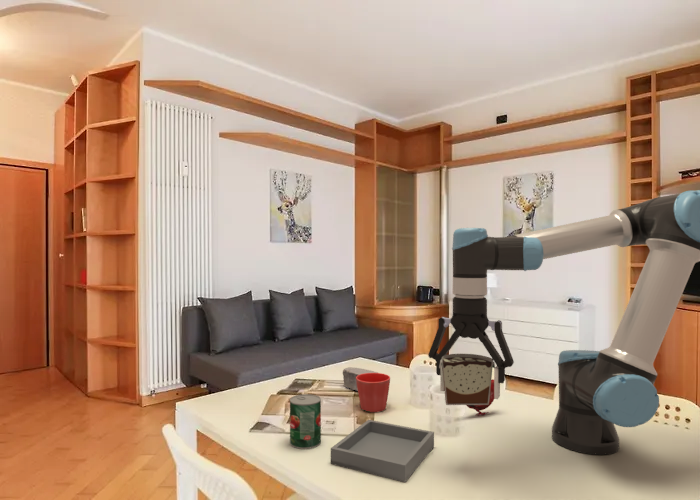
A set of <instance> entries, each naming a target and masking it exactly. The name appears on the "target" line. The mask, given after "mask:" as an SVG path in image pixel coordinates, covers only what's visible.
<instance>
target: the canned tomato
mask: <svg viewBox="0 0 700 500" xmlns="http://www.w3.org/2000/svg"><path fill="white" fill-rule="evenodd" d="M321 400H322V398H321V397H320V396H319V395H316V394H310V393H309V394H307V393H304V394H297V395H294V396H292V397H290V398H289V445H290V446H291V447H292V448H295V449H297V450H310V449H311V450H312V449H315V448H317V447H319V446H321V444H322V427H321V426H322V415H321V414H322V411H321V410H322V407H321V406H322V404H321V403H322V401H321Z"/></svg>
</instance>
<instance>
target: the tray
mask: <svg viewBox="0 0 700 500" xmlns="http://www.w3.org/2000/svg"><path fill="white" fill-rule="evenodd" d="M434 447H435V432H434V431H429V430H425V429H421V428H420V429H419V428H415V427H410V426H409V427H408V426H403V425H398V424H394V423H388V422H383V421H378V420H377V421H376V420H374V419H373V420H372V419H368V420H365V422H363V423H362V424H361V425H359V426H358V427H356V428H355V429H354V430H353V431H351V432H350V433H349V434H348V435H346V436H345V437H343V438H342V439H341V440H339V441H338V442H337V443H336V444H334V445H333V446H332V447H330V464H331V465H335V466H338V467H342V468H346V469H351V470H354V471H358V472H362V473H367V474H370V475H374V476H379V477H382V478H386V479H391V480H395V481H398V482H399V481H400V482H403V483H406V482H407V481H408V479H409V478H410V477H411V476H412V474H413V473H414V472H415V471H416V470H417V468H418V467H419V466H420V465H421V464H422V462H423V461H424V460H425V458H426V457H427V456H428V454H429V453H430V452H431V451H432V449H433V448H434Z"/></svg>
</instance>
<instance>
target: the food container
mask: <svg viewBox="0 0 700 500" xmlns="http://www.w3.org/2000/svg"><path fill="white" fill-rule="evenodd" d="M441 365H442V371H443V380H444V390H445V391H444V400H445V405H446V406H466V405H489V398H490V388H491V380H492V376H493V369H494V368H495V367H496V363H495V362H494V360H493V359H492V357H491V356H490V357H489V356H485V355H481V354H474V353H450V354H446V355H445V356H443V357H442V359H441V360H440V365H439V368H440V369H441Z"/></svg>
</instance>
